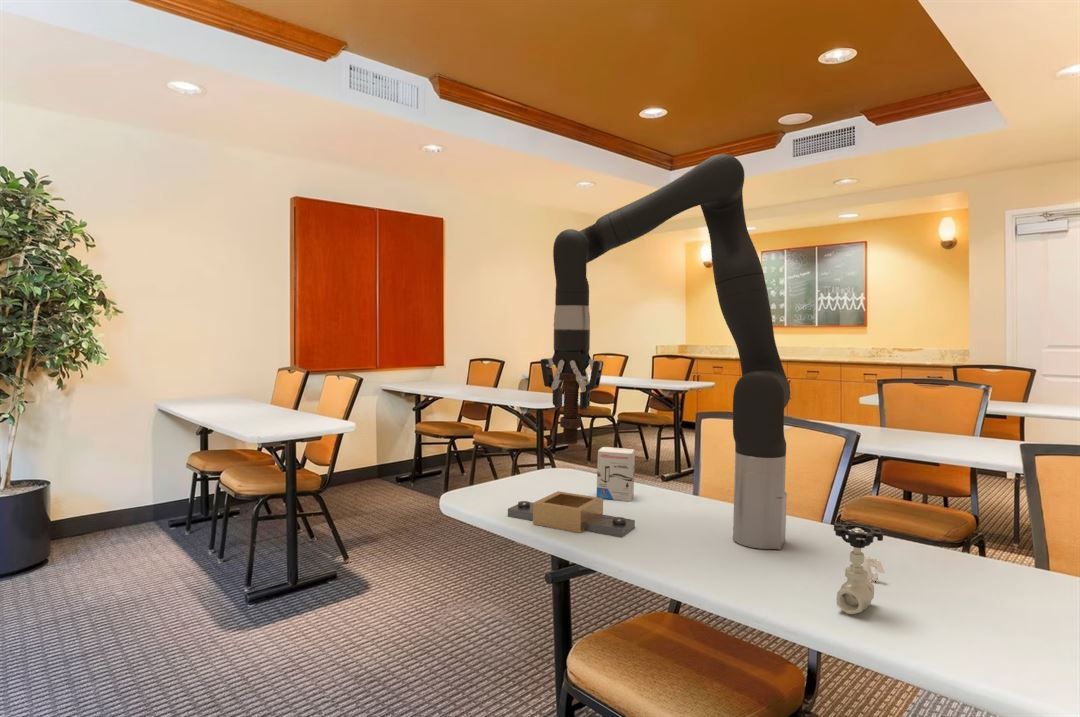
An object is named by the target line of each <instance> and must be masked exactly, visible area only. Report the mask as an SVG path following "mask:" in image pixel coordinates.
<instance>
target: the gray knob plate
mask: <svg viewBox="0 0 1080 717" xmlns="http://www.w3.org/2000/svg"><path fill="white" fill-rule="evenodd" d="M635 524H636V520H635V519H631V518H630V519H629V518H627V517H622V516H621V517H620V516H614V515H613V516H612V515H608V514H604V513H603V514H598V515H597V516H595V517H593V518H592V519H590V520H588V521H587V522H585V532H591V533H597V534H602V535H608V536H612V537H618V538H623V537H624V536H626V535H627V534H628V533H630V532H631V531H633V529H635V528H636V526H635Z"/></svg>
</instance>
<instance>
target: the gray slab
mask: <svg viewBox="0 0 1080 717" xmlns="http://www.w3.org/2000/svg"><path fill="white" fill-rule="evenodd" d="M533 503H534V502H531V501H528V500H526V501H525V500H521V501H520V500H519V501H518V503H517V504H515V505H513V506H511V507H509V508H507V517H509V518H510V517H512V518H516V519H520V520H521V519H522V520H527V521H532V522H533Z"/></svg>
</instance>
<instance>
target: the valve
mask: <svg viewBox="0 0 1080 717" xmlns="http://www.w3.org/2000/svg"><path fill="white" fill-rule="evenodd" d="M833 531H834V532H835V536H836V537H841V539H842V540H843V542H845V543H847V544H849V545H850V546H851V547H853V550H852V551H850V553H849V562H850V563H851V564H850V565H849V566H847V567H845V570H844V571H845V572H844V576H845V577H846V578H847V581H845V582H843V584H842V585H841V587H840V588H839V590H838V591H837V592H836V606H837V607H838V608H840V609H841V610H842V611H843V612H844V613H846V614H847V613H848V614H851V615H855V614H858V613H859V614H860V613H862V612H863V611H864V610H865V609H867V608H868V607H869V606H870V605H871V603H872V601H873V599H874V598H875V597H874V596H875V585H874V583H873V582H870V581H868V580H867V579H868V572H867V571H866V570H864V567H863V566H862V564H863V563H864V556H865V553H863V552H862V549H865V548H866V547H868V546H869V547H870V545H872V543H874V538H877V539H876V541H878V542H882V541H883V540H884V532H882V531H881V528H879V527H868V524H867V523H859V524H853V523H852V522H850V521H844V522H843V524H841V523H833ZM848 614H847V615H848Z"/></svg>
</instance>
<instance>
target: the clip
mask: <svg viewBox="0 0 1080 717" xmlns="http://www.w3.org/2000/svg"><path fill="white" fill-rule="evenodd" d="M861 566H863V567H864V570H866V571H867V572H868V579H867V580H868V581H872V580H873V581H872V582H874V583H876V582H875V581H877V582H878V580H879V576H878V573H880V574H881V573H882V574H885V570H884V567H883V565H882V562H881V560H877V558H871V557H869V556H865V555H864V563H863V564H861ZM872 567H873V568H875V569H874V570H875V572H877V573H872Z"/></svg>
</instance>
